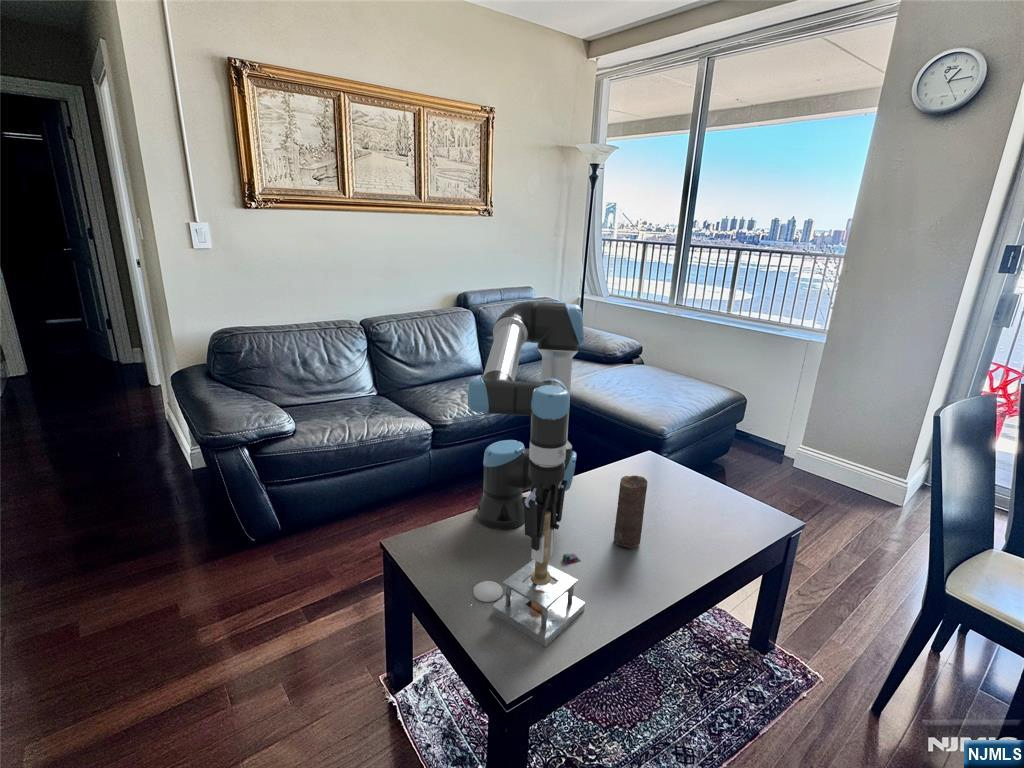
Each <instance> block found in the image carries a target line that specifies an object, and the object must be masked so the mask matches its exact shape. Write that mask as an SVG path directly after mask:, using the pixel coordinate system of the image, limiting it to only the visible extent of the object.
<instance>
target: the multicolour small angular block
mask: <svg viewBox="0 0 1024 768" xmlns="http://www.w3.org/2000/svg"><path fill="white" fill-rule="evenodd" d="M562 560H563V561H564V562H565V564H570V563H572V564H577V563H580V562H582V560H580V558H578V556H577V555H576V554H575V553H565V554H563V556H562Z"/></svg>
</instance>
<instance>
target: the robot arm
mask: <svg viewBox="0 0 1024 768" xmlns="http://www.w3.org/2000/svg"><path fill="white" fill-rule="evenodd" d="M584 335H585V334H584V321H583V312H582V308H581V306H580V305H578V304H575V303H568V302H549V301H548V302H545V301H544V302H542V301H541V302H540V301H522V302H520V303H517V304H515V305H512V306H511V307H509V308H507V309H506V310H505V311H503V312H502V313H501V314H500V316H499V317H497V320H496V321H495V323H494V326H493V330H492V337H493V342H492V346H491V349H490V352H489V355H488V357H487V361H486V365H485V368H484V370H483V371H484V372H483V375H482V377H479V378H473V379H471V380H470V381H469V384H468V389H467V407H468V409H469V411H471V412H472V413H482V414H485V415H486V414H487V415H488V414H491V415H506V416H507V415H510V416H513V415H514V416H523V417H530V439H529V448H525V445H524V443H523V442H521V441H518V440H515V439H505V440H499V441H495V442H493V443H491V444H489V445H488V446H487V447H486V448H485V450H484V454H483V461H482V464H483V485H482V486H483V491H482V492H483V493H482V494H481V498H480V500H479V503H478V505H477V508H476V509H477V510H476V517H477V520H478V521H479V523H481V524H482V525H484V526H485V527H487V528H490V529H493V530H511V529H515V528H518V527H520V526H522V525H523V524H524V525H523V526H524V535H525V536H526V537H529V538H530V539H531V540H530V541H531V542H530V548H531V555H530V556H531V557H530V559H532V560H535V561H537V562H539V563H542V562H543V555H544V537H545V536H543V535H542V533H543V526H544V519H545V512H546V510H549V511H550V512H551V519H550V535H549V551H548V557H551V556H553V554H554V553H553V551H554V537H555V530H558V529H559V528H560V525H559V524H558V523H560V522H561V521H562V518H563V517H562V516H563V509H564V502H565V493H566V492H567V491H569V490H570V488H571V486H572V482H573V479H574V476H575V475H574V474H575V469H576V461H577V452H576V451H575V450H573V445H572V444H571V442H570V441H569V440H568V433H569V431H568V430H569V419H570V418H569V416H570V408H571V406H570V403H571V402H570V400H571V399H570V398H571V385H572V368H573V358H574V356H575V355H577V353H579V347H581V346H584V345H585V340H584V339H585V338H584ZM525 343H529V344H530V343H531V344H537V347H536V348H537V351H538V352H539V354H540V355H541V372H540V374H541V375H540V381H539V382H538V381H537V382H536V381H535V382H534V381H532V382H531V381H520V380H516V376H517V371H518V368H519V367H518V366H519V362H520V358H521V352H522V349H523V346H524V344H525ZM523 489H526V490H530V494H528V496H527V497H526V496H524V495H523Z"/></svg>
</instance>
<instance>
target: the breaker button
mask: <svg viewBox="0 0 1024 768" xmlns="http://www.w3.org/2000/svg"><path fill="white" fill-rule="evenodd" d="M537 591H539V592H541V593H545V591H542V590H537ZM530 608H532V609H533V610H535V611H537V612H538V613H540V614H542V607H540V606H538V605H537V604H535V603H533V602H532V601H531V607H530Z"/></svg>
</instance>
